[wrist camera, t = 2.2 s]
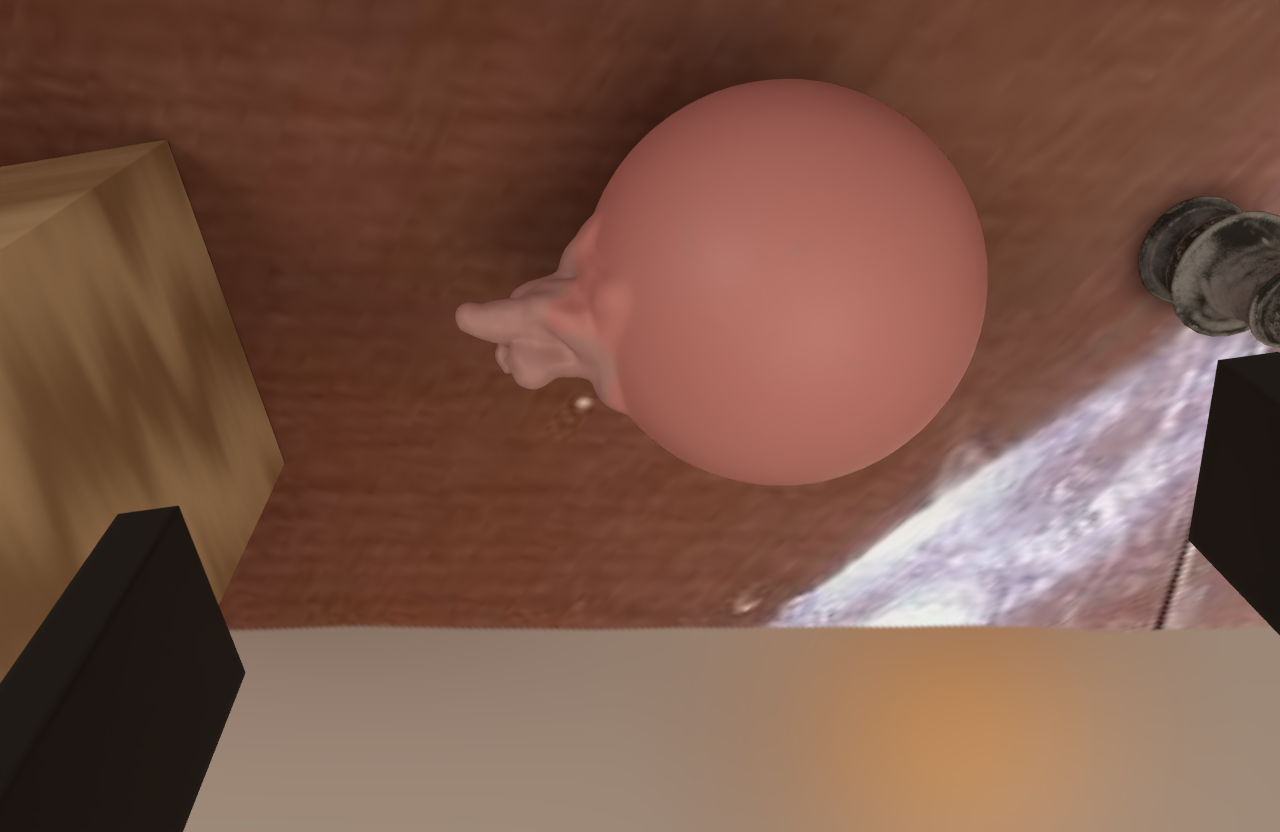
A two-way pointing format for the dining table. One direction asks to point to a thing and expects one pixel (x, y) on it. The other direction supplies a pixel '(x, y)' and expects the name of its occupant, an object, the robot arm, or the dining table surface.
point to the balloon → (764, 285)
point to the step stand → (115, 377)
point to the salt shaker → (1217, 267)
